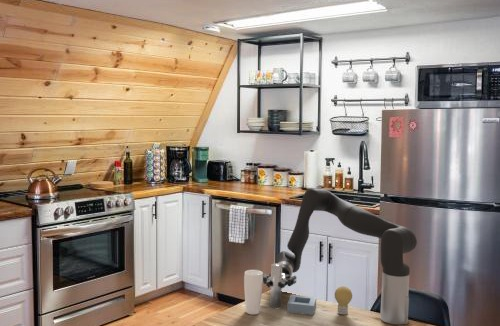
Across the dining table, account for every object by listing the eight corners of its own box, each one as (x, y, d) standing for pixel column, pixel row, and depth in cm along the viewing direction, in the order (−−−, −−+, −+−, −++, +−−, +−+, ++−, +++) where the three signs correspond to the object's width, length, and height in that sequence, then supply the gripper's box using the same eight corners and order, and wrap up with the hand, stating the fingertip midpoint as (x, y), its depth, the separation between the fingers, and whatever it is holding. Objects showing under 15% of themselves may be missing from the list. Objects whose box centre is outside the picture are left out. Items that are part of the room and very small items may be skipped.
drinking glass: (241, 314, 187) (242, 274, 186) (245, 308, 194) (246, 268, 193) (259, 316, 186) (261, 275, 185) (263, 310, 193) (264, 270, 191)
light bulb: (350, 310, 194) (351, 284, 193) (352, 317, 188) (353, 290, 187) (333, 309, 195) (334, 283, 194) (334, 316, 188) (335, 289, 187)
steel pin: (281, 305, 198) (282, 264, 197) (279, 308, 194) (281, 266, 193) (271, 304, 199) (272, 263, 198) (269, 307, 195) (270, 265, 194)
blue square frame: (316, 306, 198) (316, 297, 198) (313, 315, 189) (313, 305, 188) (291, 303, 200) (291, 294, 200) (287, 312, 191) (287, 303, 191)
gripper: (265, 261, 211) (256, 273, 194) (300, 264, 208) (294, 277, 191) (264, 279, 212) (255, 293, 195) (299, 283, 209) (293, 297, 192)
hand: (275, 285), depth 193 cm, fingers open, 4 cm apart
